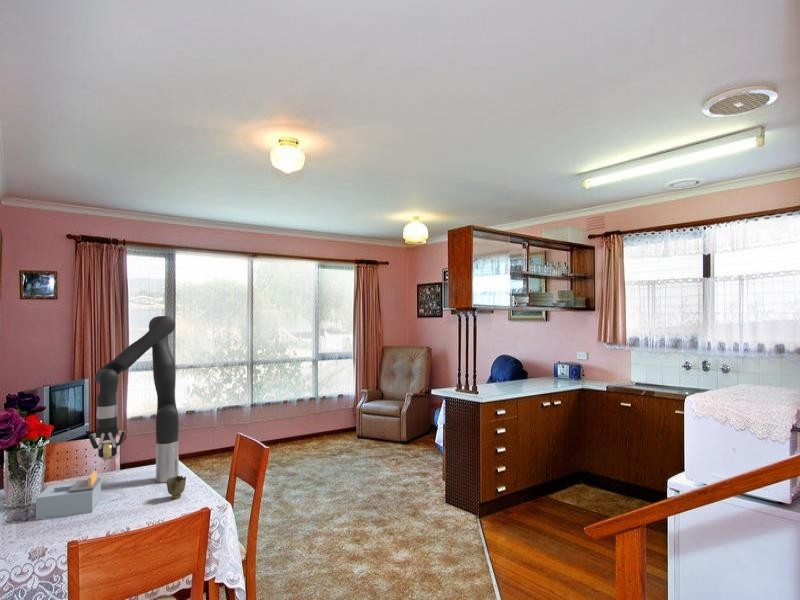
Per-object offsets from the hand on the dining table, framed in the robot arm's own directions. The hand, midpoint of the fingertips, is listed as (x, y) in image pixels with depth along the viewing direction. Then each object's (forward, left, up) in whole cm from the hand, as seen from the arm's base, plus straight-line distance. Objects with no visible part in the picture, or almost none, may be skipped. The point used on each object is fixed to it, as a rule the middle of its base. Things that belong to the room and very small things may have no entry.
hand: (107, 456), depth 204 cm
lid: (+5, +13, -8) cm, 16 cm away
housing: (+10, +13, -16) cm, 23 cm away
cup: (-28, +16, -16) cm, 36 cm away
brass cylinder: (0, 0, -1) cm, 1 cm away
